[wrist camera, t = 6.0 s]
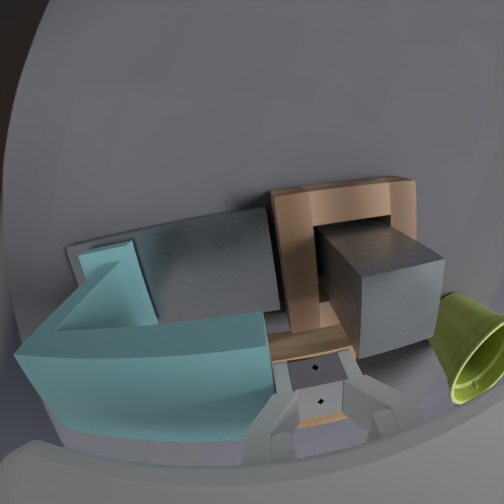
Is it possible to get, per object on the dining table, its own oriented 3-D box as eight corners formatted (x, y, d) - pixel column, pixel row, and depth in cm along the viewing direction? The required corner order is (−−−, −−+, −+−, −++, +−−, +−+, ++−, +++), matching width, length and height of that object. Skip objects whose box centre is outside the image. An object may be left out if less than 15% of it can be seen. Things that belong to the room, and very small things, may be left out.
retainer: (251, 218, 19) (261, 317, 8) (266, 308, 21) (284, 446, 10) (85, 250, 20) (-18, 334, 8) (113, 326, 22) (49, 433, 10)
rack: (113, 349, 24) (100, 372, 21) (344, 320, 24) (356, 344, 20) (149, 413, 28) (142, 436, 24) (341, 393, 27) (350, 417, 24)
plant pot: (409, 364, 26) (443, 419, 18) (409, 296, 23) (461, 350, 15) (470, 332, 25) (509, 374, 17) (477, 264, 22) (532, 301, 14)
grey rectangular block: (310, 221, 21) (361, 277, 11) (367, 213, 21) (445, 258, 11) (316, 277, 22) (358, 359, 13) (369, 267, 22) (433, 336, 13)
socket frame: (395, 175, 20) (415, 180, 17) (395, 290, 23) (411, 306, 20) (68, 233, 20) (48, 244, 18) (105, 333, 24) (93, 351, 21)
